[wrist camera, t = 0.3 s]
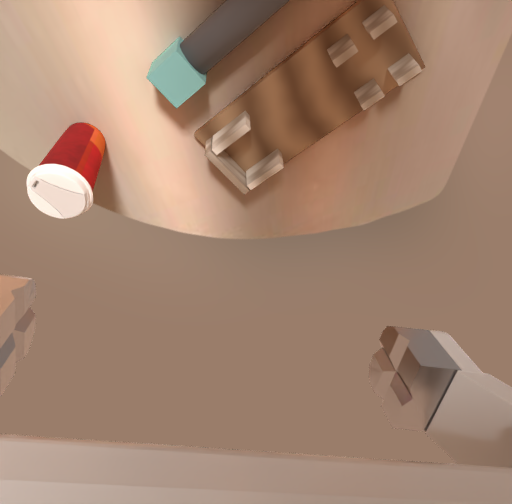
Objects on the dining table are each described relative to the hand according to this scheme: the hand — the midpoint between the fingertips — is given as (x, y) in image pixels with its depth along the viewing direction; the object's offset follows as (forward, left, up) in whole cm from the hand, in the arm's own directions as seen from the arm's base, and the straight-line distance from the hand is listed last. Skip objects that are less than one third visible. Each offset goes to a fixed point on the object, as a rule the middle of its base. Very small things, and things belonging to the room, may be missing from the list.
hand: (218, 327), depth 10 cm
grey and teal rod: (+2, +5, -51) cm, 51 cm away
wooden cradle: (+3, +19, -51) cm, 54 cm away
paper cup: (+31, +4, -51) cm, 60 cm away
